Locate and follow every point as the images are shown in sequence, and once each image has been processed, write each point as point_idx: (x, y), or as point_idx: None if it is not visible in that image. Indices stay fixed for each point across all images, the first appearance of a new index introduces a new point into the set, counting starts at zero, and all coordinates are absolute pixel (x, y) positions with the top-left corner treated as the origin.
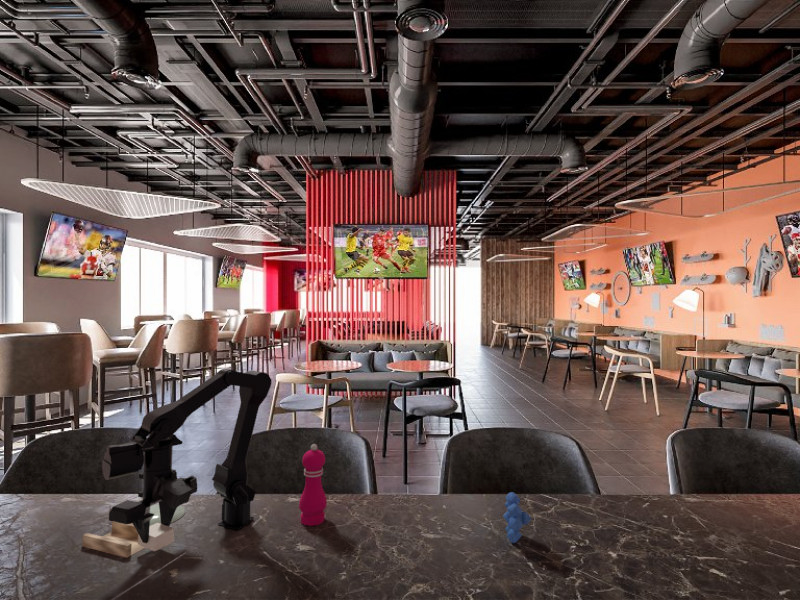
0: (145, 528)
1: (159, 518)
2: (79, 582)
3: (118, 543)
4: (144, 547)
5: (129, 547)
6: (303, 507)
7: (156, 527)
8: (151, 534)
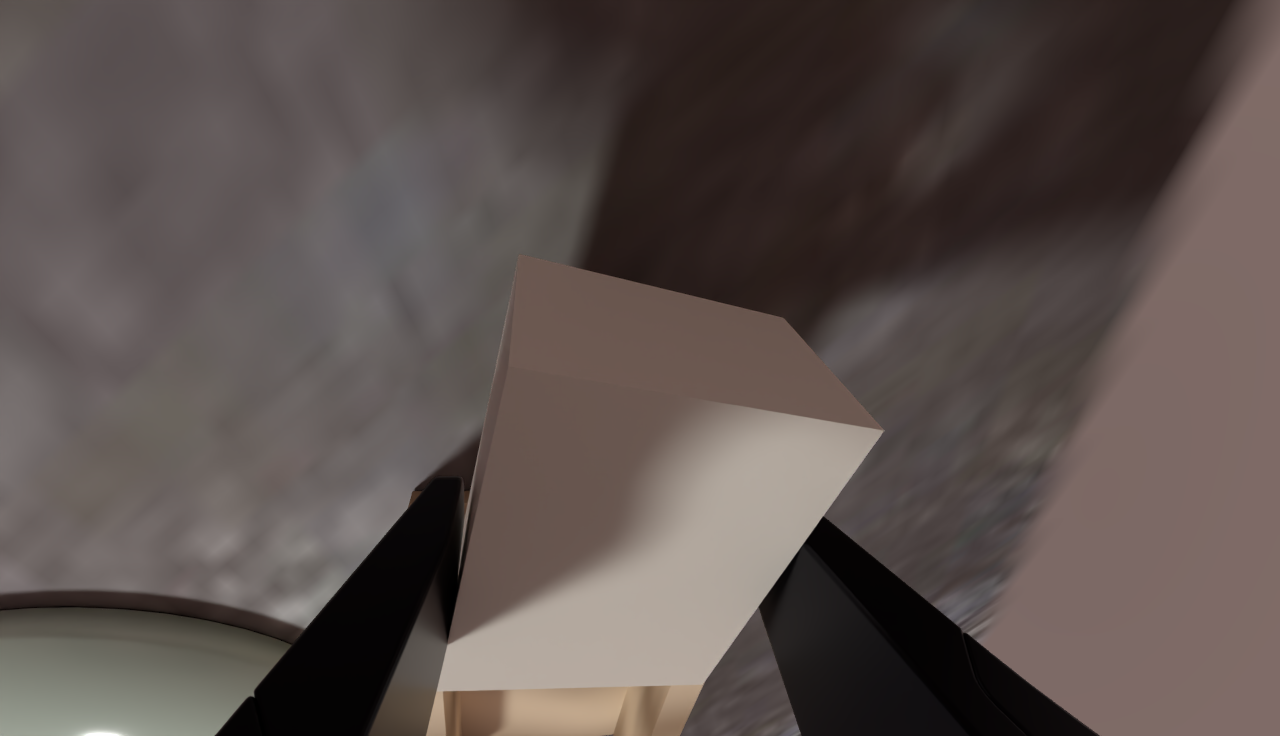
0: (1003, 674)
1: (134, 720)
2: (955, 515)
3: None
4: None
5: None
6: None
7: (571, 615)
8: (787, 530)
